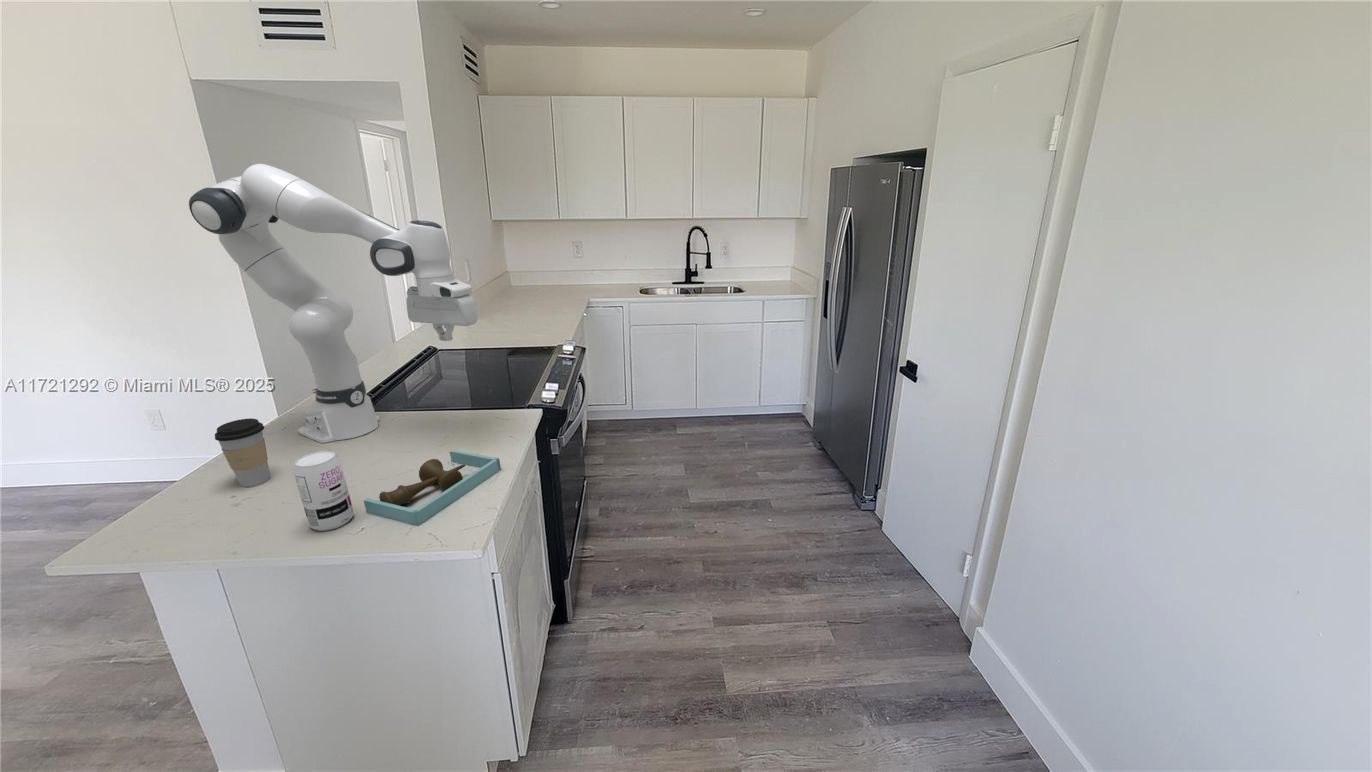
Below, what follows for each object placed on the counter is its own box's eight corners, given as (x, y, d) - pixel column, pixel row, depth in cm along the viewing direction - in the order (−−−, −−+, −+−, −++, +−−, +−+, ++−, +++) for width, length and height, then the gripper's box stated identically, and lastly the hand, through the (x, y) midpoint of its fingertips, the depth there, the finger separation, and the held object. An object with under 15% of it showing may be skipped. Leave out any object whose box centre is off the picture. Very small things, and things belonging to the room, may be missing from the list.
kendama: (375, 508, 123) (455, 470, 138) (398, 523, 118) (479, 481, 133) (369, 485, 121) (451, 448, 136) (392, 499, 116) (474, 459, 131)
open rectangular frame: (366, 512, 121) (363, 500, 120) (454, 460, 143) (452, 449, 142) (418, 525, 115) (415, 513, 114) (500, 469, 138) (499, 458, 137)
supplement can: (322, 512, 121) (305, 450, 116) (361, 509, 122) (346, 448, 117) (301, 534, 114) (281, 469, 109) (343, 531, 114) (325, 466, 109)
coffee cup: (227, 494, 130) (207, 436, 125) (236, 477, 138) (217, 422, 132) (275, 484, 134) (258, 427, 129) (281, 468, 142) (265, 414, 137)
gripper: (396, 287, 141) (406, 340, 145) (458, 291, 133) (467, 346, 138) (415, 283, 146) (425, 334, 151) (476, 286, 139) (485, 340, 144)
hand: (446, 340), depth 144 cm, fingers closed
